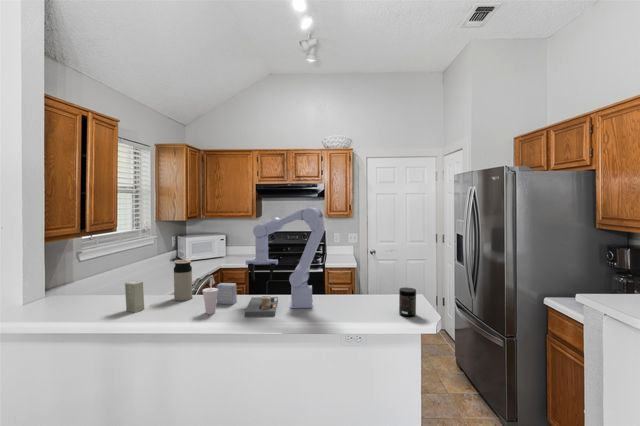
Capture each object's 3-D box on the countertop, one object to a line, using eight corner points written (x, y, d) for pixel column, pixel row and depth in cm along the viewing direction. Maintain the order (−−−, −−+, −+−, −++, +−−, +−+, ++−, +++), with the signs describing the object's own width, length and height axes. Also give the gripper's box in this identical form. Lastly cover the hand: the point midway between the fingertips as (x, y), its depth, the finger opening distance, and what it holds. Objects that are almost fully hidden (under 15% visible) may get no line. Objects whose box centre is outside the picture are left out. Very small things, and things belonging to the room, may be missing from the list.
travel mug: (183, 301, 159) (183, 263, 159) (170, 300, 162) (169, 261, 162) (196, 297, 167) (195, 260, 166) (183, 295, 170) (182, 259, 169)
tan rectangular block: (270, 310, 148) (270, 296, 148) (269, 312, 144) (269, 298, 144) (262, 310, 148) (262, 296, 147) (261, 312, 144) (261, 298, 144)
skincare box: (144, 309, 148) (143, 281, 148) (135, 312, 144) (134, 284, 144) (134, 307, 151) (133, 280, 151) (125, 310, 147) (124, 282, 146)
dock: (277, 301, 160) (277, 296, 160) (274, 316, 140) (274, 310, 140) (251, 301, 160) (251, 296, 159) (244, 316, 140) (244, 311, 139)
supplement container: (417, 313, 143) (417, 288, 142) (413, 318, 137) (414, 292, 136) (401, 311, 146) (401, 286, 146) (397, 316, 140) (397, 290, 140)
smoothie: (221, 310, 147) (221, 278, 146) (212, 315, 141) (211, 281, 140) (209, 309, 149) (208, 277, 148) (199, 314, 143) (198, 280, 142)
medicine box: (236, 301, 160) (236, 283, 159) (233, 304, 155) (233, 285, 155) (220, 301, 160) (220, 282, 160) (216, 304, 156) (216, 285, 156)
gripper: (244, 252, 153) (244, 282, 154) (277, 251, 154) (277, 281, 155) (246, 249, 160) (247, 278, 161) (278, 249, 161) (278, 278, 162)
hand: (262, 280), depth 158 cm, fingers open, 7 cm apart
